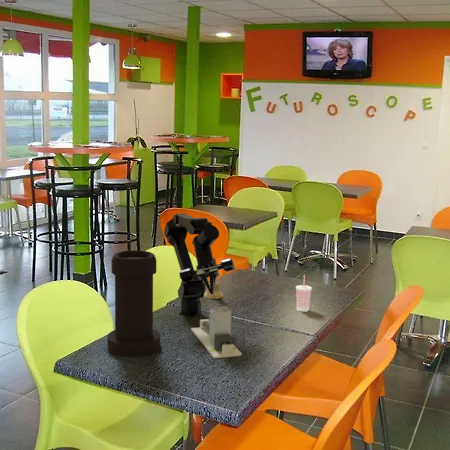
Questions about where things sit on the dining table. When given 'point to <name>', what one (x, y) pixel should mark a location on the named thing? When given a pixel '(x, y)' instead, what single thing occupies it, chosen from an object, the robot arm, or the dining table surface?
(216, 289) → the hand bell
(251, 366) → the dining table surface
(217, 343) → the dark grey notched block
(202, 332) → the base board
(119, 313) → the pipe
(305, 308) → the beverage cup
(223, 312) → the beige tall block
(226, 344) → the steel pipe
